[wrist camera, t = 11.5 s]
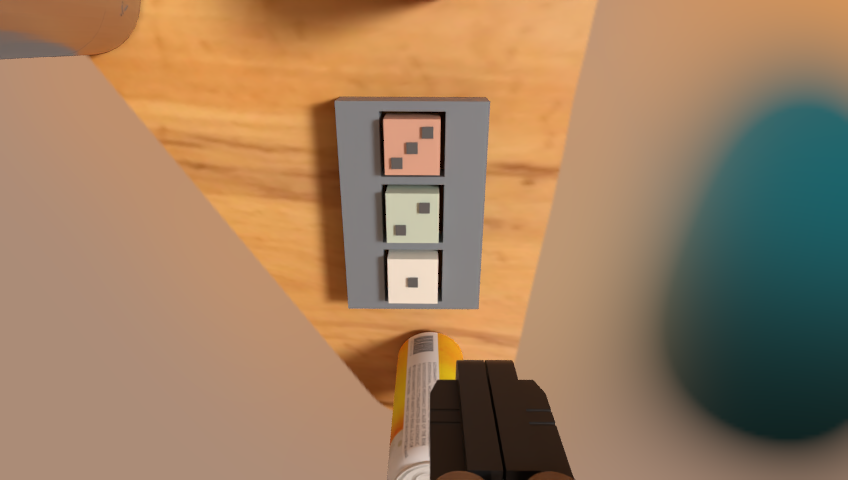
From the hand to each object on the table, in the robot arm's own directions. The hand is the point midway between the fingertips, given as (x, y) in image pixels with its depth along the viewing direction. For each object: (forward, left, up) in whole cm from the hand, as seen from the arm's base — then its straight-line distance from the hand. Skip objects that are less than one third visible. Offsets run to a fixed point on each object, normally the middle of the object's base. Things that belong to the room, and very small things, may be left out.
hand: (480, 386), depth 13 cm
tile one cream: (-2, -9, -26) cm, 28 cm away
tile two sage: (-3, -4, -26) cm, 27 cm away
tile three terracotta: (-3, +1, -26) cm, 26 cm away
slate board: (-2, -4, -27) cm, 27 cm away
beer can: (-1, -19, -27) cm, 33 cm away
